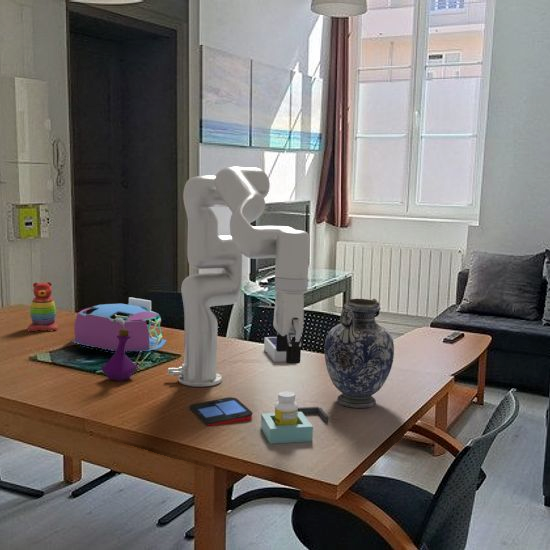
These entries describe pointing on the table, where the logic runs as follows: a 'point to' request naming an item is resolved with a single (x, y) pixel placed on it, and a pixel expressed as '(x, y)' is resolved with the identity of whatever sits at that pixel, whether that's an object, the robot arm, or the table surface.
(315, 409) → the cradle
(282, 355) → the box
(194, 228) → the robot arm
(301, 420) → the port
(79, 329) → the stadium
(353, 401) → the decorative vase
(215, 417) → the game console
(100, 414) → the table surface
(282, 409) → the supplement bottle
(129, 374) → the perfume bottle
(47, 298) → the stacking bear
